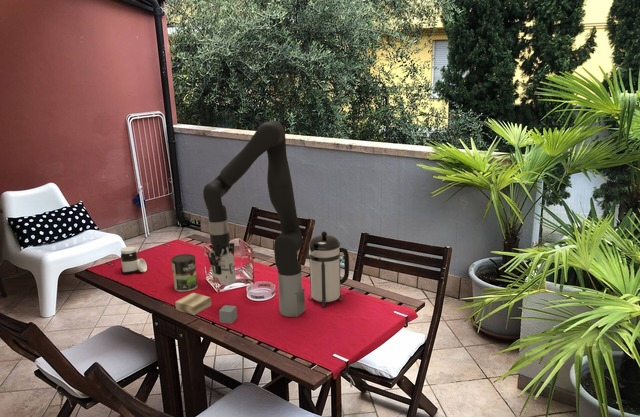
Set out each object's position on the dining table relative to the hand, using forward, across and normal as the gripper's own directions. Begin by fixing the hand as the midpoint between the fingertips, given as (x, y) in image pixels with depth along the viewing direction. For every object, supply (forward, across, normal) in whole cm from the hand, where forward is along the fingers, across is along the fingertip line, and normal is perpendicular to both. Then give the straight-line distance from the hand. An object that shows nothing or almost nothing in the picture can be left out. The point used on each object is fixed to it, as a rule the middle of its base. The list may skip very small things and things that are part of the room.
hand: (223, 271), depth 204 cm
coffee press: (+17, +26, -32) cm, 45 cm away
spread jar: (+14, +11, +68) cm, 70 cm away
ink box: (+5, 0, 0) cm, 5 cm away
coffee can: (+15, +8, +31) cm, 35 cm away
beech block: (+16, -6, +13) cm, 21 cm away
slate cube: (+16, -8, -7) cm, 19 cm away
